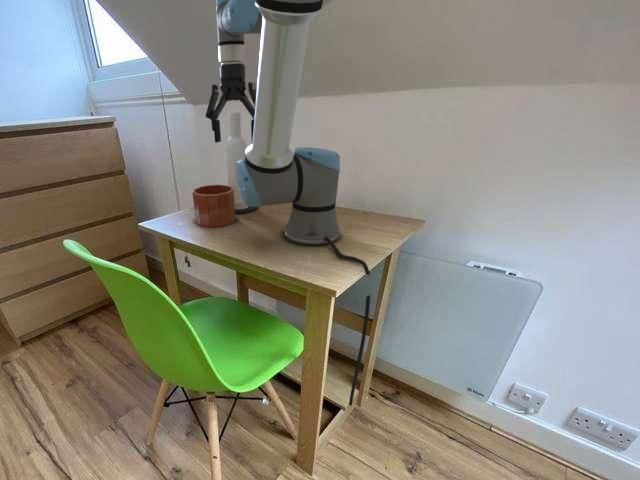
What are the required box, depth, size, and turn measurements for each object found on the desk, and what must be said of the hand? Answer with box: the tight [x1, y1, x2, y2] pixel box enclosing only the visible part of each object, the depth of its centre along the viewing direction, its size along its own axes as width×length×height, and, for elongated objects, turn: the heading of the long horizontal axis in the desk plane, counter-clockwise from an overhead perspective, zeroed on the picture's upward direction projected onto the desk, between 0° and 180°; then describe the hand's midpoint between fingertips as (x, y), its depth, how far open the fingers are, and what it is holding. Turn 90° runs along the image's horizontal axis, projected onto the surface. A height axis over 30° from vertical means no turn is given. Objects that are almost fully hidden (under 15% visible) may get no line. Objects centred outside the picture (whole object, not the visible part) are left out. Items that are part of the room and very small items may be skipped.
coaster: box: [235, 206, 258, 215], centre depth 123 cm, size 13×13×1 cm
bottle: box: [224, 111, 249, 210], centre depth 115 cm, size 8×8×30 cm
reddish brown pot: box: [191, 184, 236, 228], centre depth 111 cm, size 13×13×10 cm
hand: (235, 142), depth 112 cm, fingers open, 13 cm apart
